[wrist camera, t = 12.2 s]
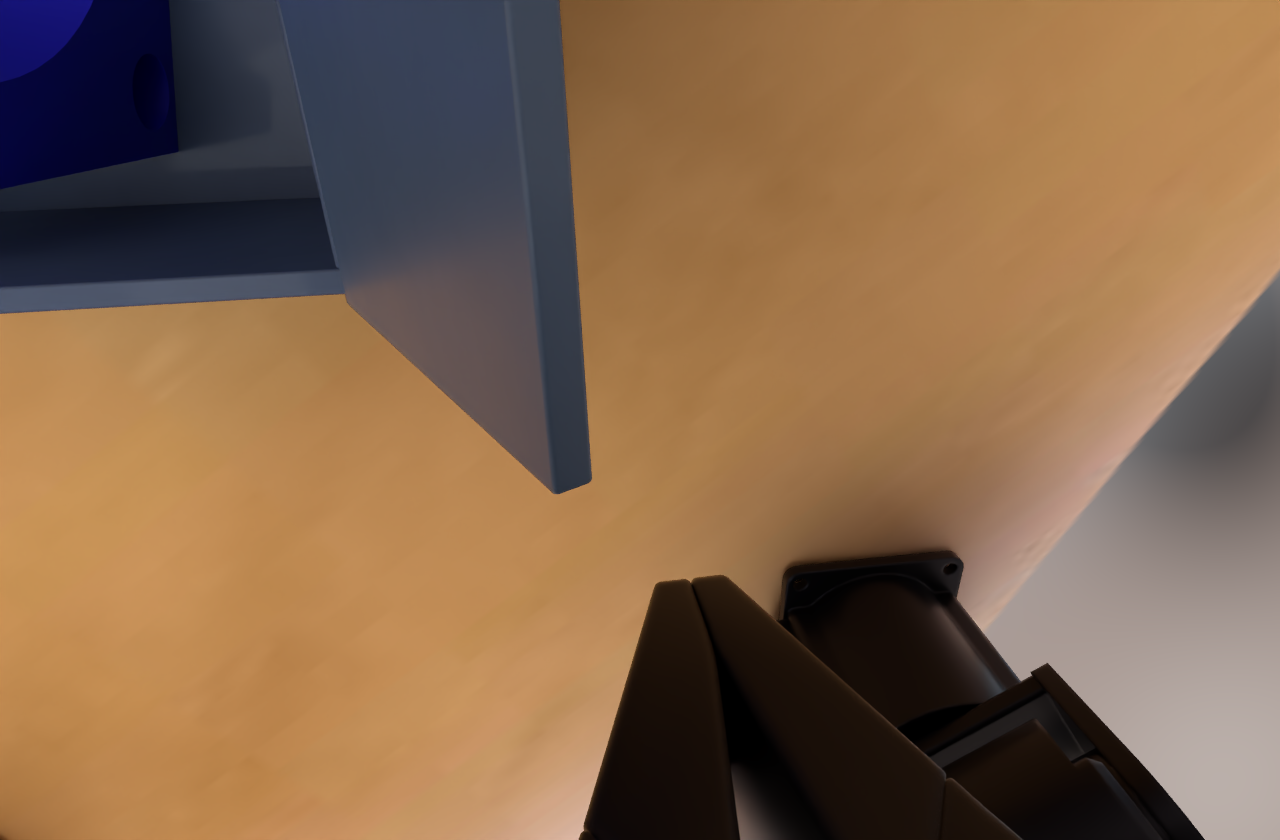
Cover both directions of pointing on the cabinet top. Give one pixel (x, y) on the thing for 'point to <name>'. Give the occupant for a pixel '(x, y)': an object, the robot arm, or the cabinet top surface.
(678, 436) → the cabinet top surface
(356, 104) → the flap
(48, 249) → the carton
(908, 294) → the cabinet top surface
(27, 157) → the cable clip
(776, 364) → the cabinet top surface
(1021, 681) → the robot arm
